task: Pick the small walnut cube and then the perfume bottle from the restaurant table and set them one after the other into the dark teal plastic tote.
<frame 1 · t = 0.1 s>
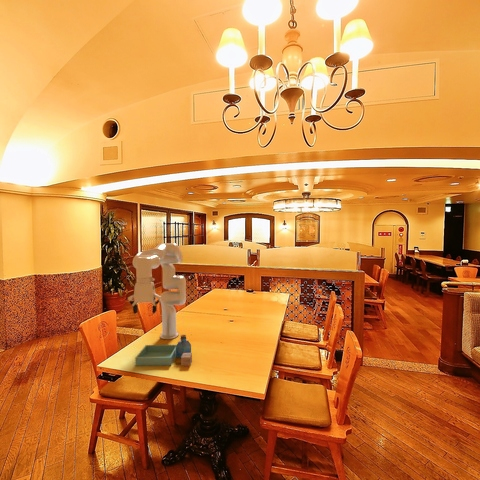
hand: (145, 312, 133), 31 cm above the table, fingers open, 9 cm apart
perfume bottle: (183, 356, 150), on the table
tote: (157, 358, 147), on the table
walnut cube: (186, 363, 141), on the table
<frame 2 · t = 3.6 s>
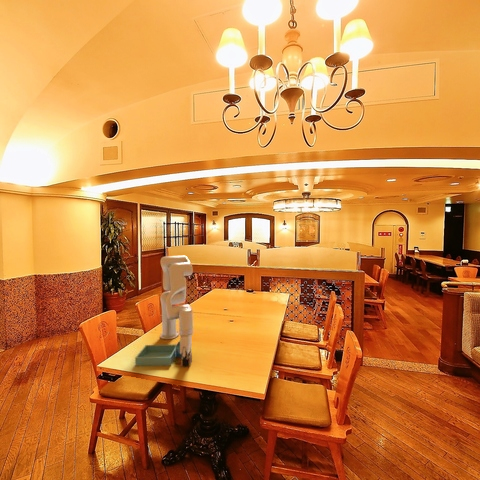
hand: (186, 362, 141), 0 cm above the table, fingers closed on walnut cube, 5 cm apart
walnut cube: (186, 363, 141), on the table, touching gripper
everything else where it was.
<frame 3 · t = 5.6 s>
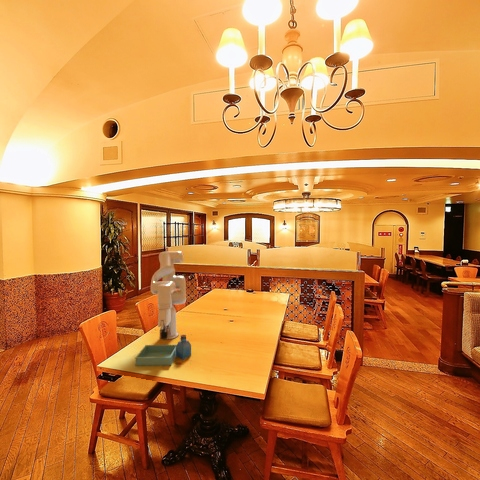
hand: (165, 336, 146), 13 cm above the table, fingers closed on walnut cube, 5 cm apart
walnut cube: (165, 337, 146), point 13 cm above the table, touching gripper
everything else where it was.
when the fingers open (4 cm above the table, at t = 7.7 s): walnut cube drops 3 cm, resting on tote.
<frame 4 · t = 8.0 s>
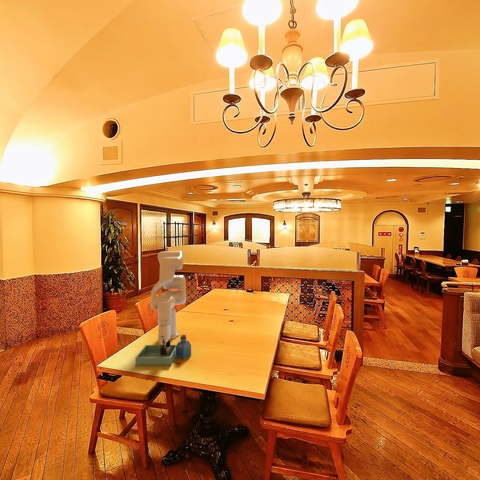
hand: (165, 351, 147), 4 cm above the table, fingers open, 7 cm apart
walnut cube: (165, 357, 147), point 1 cm above the table, touching tote
everything else where it was.
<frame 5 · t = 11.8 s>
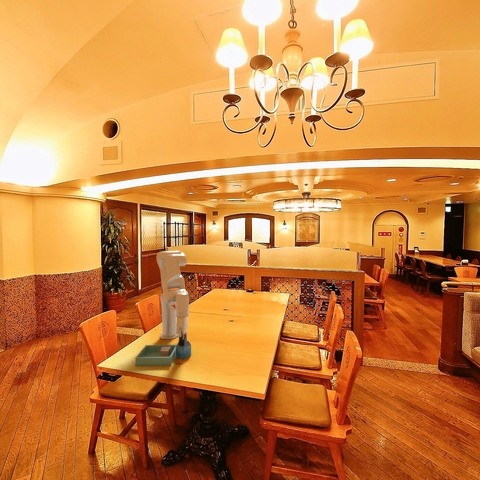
hand: (182, 343, 149), 8 cm above the table, fingers closed on perfume bottle, 5 cm apart
perfume bottle: (183, 356, 150), on the table, touching gripper
everything else where it was.
when the fingers open (10 cm above the table, at t = 16.4 s): perfume bottle drops 2 cm, resting on tote.
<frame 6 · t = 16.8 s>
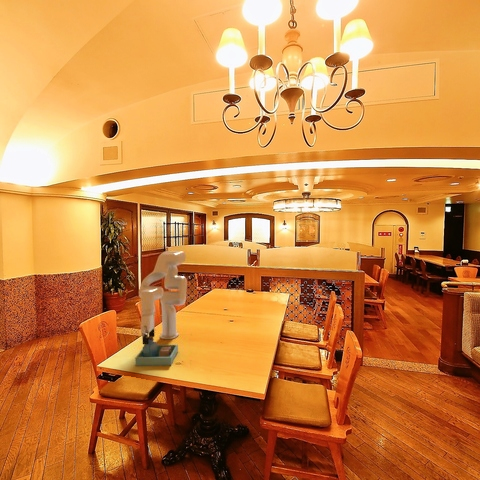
hand: (148, 340, 146), 11 cm above the table, fingers open, 9 cm apart
perfume bottle: (150, 357, 147), resting on tote
everything else where it was.
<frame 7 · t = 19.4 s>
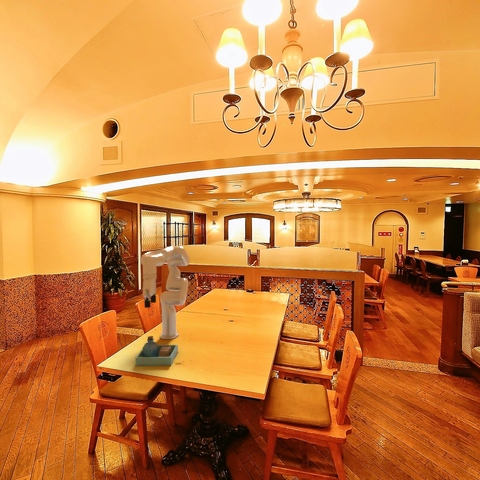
hand: (150, 305, 150), 30 cm above the table, fingers open, 9 cm apart
nothing on the table moved.
at the end: walnut cube inside the target area on the tote (4.5 cm from its centre), point 0.6 cm above the tote's base; perfume bottle inside the target area on the tote (4.1 cm from its centre), point 0.4 cm above the tote's base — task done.
